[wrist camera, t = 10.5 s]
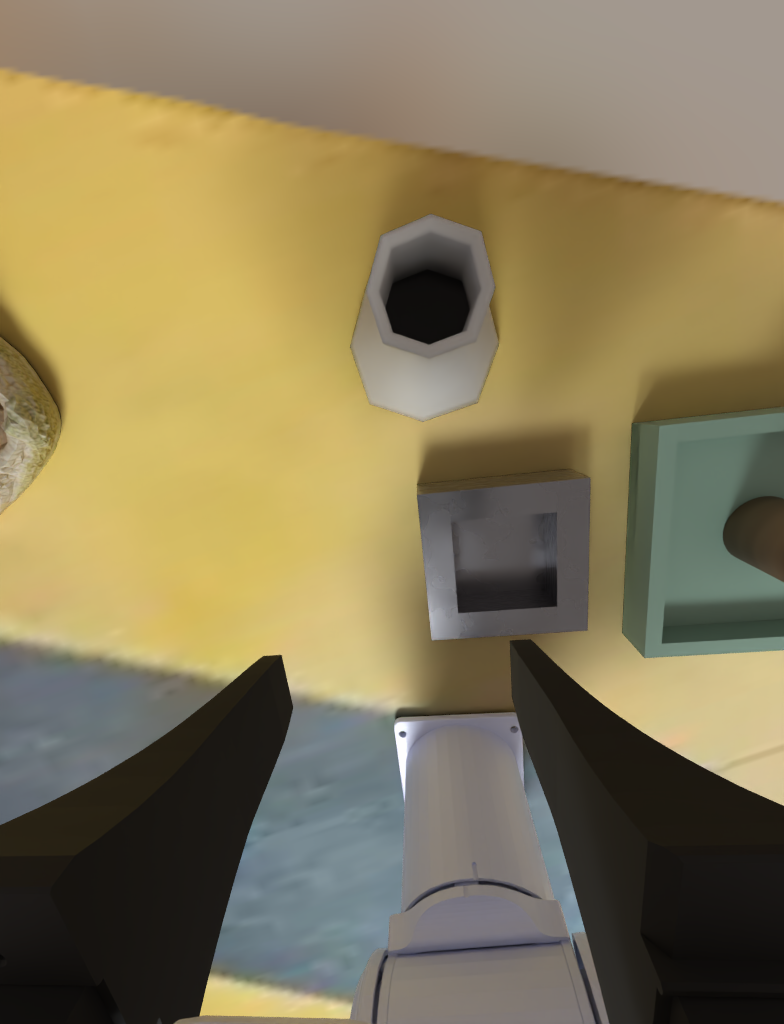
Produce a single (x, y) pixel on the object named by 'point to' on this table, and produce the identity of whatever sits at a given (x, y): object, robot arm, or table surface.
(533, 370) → the table surface
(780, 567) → the pin
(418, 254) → the flask
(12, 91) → the table surface
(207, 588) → the table surface
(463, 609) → the square metal dish
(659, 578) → the tray
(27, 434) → the ceramic model
